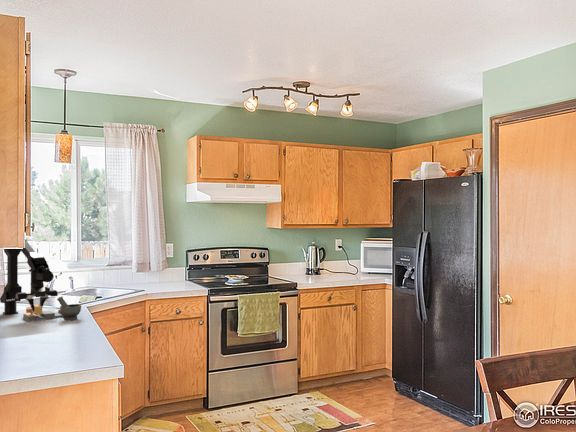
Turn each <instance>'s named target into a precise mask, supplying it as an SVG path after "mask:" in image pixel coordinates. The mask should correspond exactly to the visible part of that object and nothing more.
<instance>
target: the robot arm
mask: <svg viewBox="0 0 576 432" xmlns="http://www.w3.org/2000/svg"><path fill="white" fill-rule="evenodd" d="M3 252H4V253H5V255H6V257H7V271H6V272H7V273H6V274H7V275H6V276H7V277H6V278H7V282H6V284H5V286H4V288H3V292H2V295H1V296H0V303H1V304H4V305H3V306H4V311H2V314H3V313H4V315H12V314H14V313H15V314H19V311H17V302H21V300H26V301H27V302H28V303H29V305H30V306H29V307H31V308H32V311H33V312H34V305H35V304H34V300H35V299H34V298H33V297H35V298H39V305H41V306H42V308H43V307H44V304H45V302H46V301H47V299H49V298H50V297H59V296H58V293H59V292H58V290H56V289H51V288H50V286H45V284H44V283H50V282H52V281H53V279H54V273H53V272H52V271H50V267H49V264H48V262H47V259H46V258H45V257H44V256H43V255H42V254H40V253H38V252H36V251H35V249H34V248H33V247H32V245H30V243H28V239H26V238H25V248H23V249H4V248H3ZM21 253H22V254H23V255H24V256H25V258H26V263H27V265H28V267H29V269H28V272H29V273H30V293H29V292H28V293H26V292H23V291H22V289H23V287H22V286H21V285H20V284H19V283H18V282H19V280H18V279H19V278H18V277H19V275H18V274H19V273H18V271H19V270H18V269H19V268H18V266H19V265H18V261H19V260H18V259H19V258H18V257H19V255H20V254H21ZM49 296H50V297H49Z"/></svg>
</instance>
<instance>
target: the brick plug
mask: <svg viewBox="0 0 576 432" xmlns="http://www.w3.org/2000/svg"><path fill="white" fill-rule="evenodd" d="M25 313H32V308H31V306H27V307H26V311H25ZM32 314H33V313H32ZM33 315H34V314H33Z"/></svg>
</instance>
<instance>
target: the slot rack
mask: <svg viewBox="0 0 576 432" xmlns="http://www.w3.org/2000/svg"><path fill="white" fill-rule="evenodd" d="M22 316H23V317H22V318H23V319H24V320H25V321H27V322H31V321H41V319H43V320H50V318H51V319H59V317H60V318H64V316H63V315H62V314H61V311H60V308H59V309H58V311H57V312H53V311H51V310H48V309H47V310H42V314H40V315H35V314H32V313H26V312H23V314H22Z"/></svg>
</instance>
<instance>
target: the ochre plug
mask: <svg viewBox="0 0 576 432" xmlns="http://www.w3.org/2000/svg"><path fill="white" fill-rule="evenodd" d="M42 311H43V307H42V306H41V305H40V304H37V303H36V304H34V312H33V311H32V313H33V315H40V314H42Z"/></svg>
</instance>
